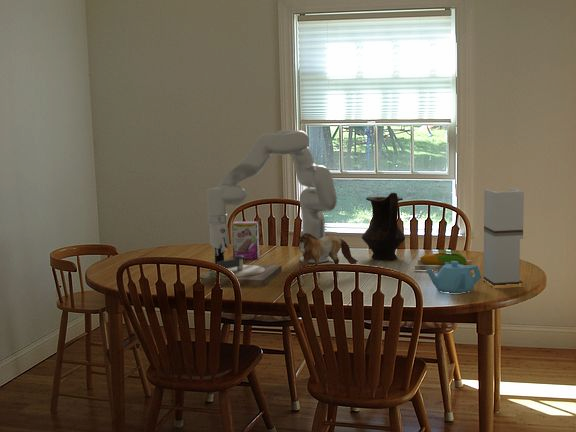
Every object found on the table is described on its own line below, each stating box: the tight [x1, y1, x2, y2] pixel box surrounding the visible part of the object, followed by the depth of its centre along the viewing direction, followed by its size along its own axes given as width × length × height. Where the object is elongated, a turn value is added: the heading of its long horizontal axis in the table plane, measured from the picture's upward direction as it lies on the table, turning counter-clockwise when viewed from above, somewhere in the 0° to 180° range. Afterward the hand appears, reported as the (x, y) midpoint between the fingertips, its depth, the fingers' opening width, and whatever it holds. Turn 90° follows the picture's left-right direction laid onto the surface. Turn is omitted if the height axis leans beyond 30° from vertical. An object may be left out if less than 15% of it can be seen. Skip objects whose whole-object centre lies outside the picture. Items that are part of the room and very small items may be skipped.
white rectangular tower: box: [483, 187, 525, 286], centre depth 294 cm, size 11×11×35 cm
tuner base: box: [199, 263, 283, 287], centre depth 320 cm, size 27×26×4 cm
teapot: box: [426, 261, 483, 293], centre depth 289 cm, size 15×15×11 cm
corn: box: [419, 250, 467, 266], centre depth 324 cm, size 7×8×20 cm
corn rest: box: [414, 258, 473, 271], centre depth 324 cm, size 22×12×2 cm, turn 75°
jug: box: [361, 192, 406, 262], centre depth 343 cm, size 21×18×30 cm
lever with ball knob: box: [217, 255, 244, 270], centre depth 316 cm, size 12×4×6 cm, turn 128°
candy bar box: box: [231, 221, 260, 260], centre depth 355 cm, size 11×5×16 cm, turn 84°
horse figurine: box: [297, 233, 359, 286], centre depth 309 cm, size 31×8×21 cm, turn 133°
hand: (219, 264), depth 316 cm, fingers closed
